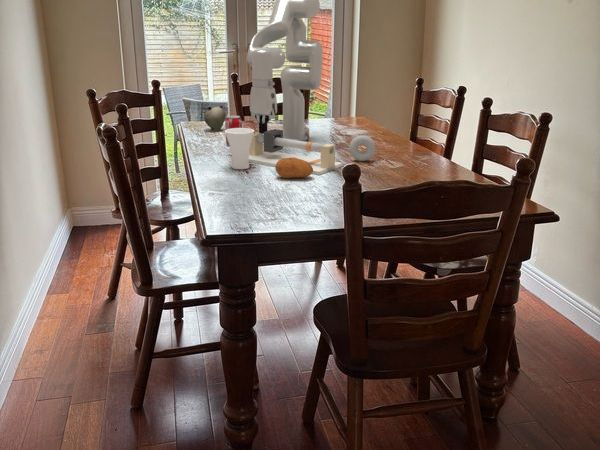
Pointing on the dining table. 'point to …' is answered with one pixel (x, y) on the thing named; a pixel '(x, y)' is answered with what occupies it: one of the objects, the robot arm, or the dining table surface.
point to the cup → (240, 146)
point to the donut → (358, 141)
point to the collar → (269, 140)
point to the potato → (293, 168)
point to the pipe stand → (272, 158)
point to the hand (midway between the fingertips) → (263, 132)
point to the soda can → (232, 123)
